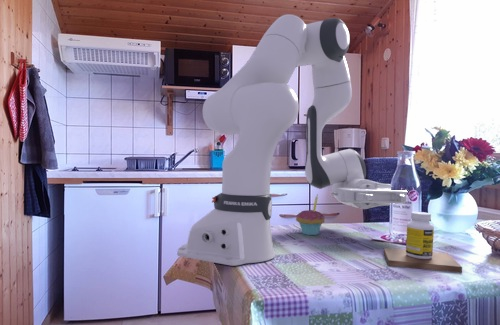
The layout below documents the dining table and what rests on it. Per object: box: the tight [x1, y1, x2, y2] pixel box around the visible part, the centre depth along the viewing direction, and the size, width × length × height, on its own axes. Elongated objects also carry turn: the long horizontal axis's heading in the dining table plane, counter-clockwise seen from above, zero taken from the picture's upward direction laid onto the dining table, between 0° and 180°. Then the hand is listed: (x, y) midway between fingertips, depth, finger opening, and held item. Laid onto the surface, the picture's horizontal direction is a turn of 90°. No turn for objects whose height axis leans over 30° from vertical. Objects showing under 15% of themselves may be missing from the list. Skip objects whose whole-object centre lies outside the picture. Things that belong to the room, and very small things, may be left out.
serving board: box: [383, 247, 463, 273], centre depth 79 cm, size 14×11×1 cm
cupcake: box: [295, 193, 326, 236], centre depth 107 cm, size 9×8×12 cm
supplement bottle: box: [405, 211, 435, 259], centre depth 79 cm, size 5×5×10 cm
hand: (386, 198), depth 92 cm, fingers open, 8 cm apart
